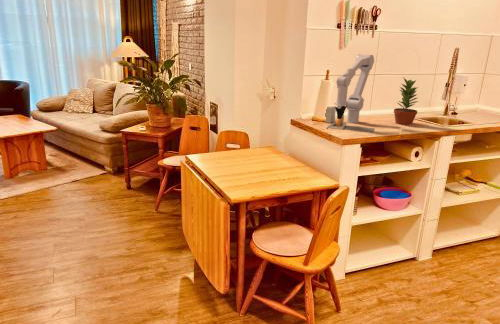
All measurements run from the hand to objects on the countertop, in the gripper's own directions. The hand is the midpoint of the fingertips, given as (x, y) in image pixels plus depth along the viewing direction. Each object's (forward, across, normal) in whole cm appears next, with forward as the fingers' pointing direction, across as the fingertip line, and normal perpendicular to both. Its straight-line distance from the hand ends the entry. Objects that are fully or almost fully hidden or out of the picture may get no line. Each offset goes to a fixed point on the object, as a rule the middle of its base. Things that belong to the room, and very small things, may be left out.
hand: (340, 118), depth 241 cm
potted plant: (+6, -31, +37) cm, 48 cm away
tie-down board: (+5, +5, +8) cm, 11 cm away
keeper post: (+5, +6, 0) cm, 8 cm away
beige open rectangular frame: (+4, +6, 0) cm, 7 cm away
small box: (+6, -12, -10) cm, 16 cm away
